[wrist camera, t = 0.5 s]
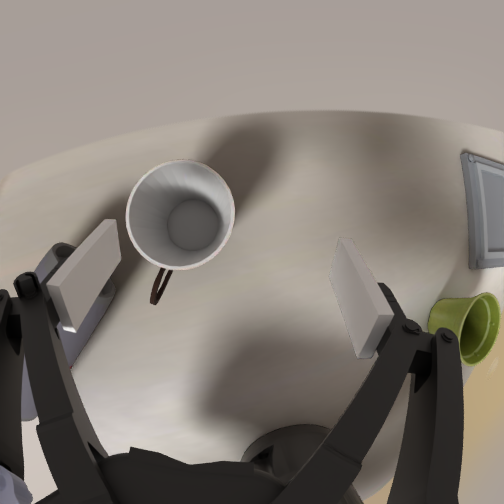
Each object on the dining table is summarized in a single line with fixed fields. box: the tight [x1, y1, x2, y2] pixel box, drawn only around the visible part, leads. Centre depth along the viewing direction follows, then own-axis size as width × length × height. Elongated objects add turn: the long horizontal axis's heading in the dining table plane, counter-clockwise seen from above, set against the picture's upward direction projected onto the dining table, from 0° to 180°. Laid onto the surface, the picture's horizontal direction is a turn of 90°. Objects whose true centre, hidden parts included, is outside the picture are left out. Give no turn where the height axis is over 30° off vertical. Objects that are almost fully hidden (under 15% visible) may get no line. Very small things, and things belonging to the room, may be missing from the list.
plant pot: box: [428, 292, 501, 366], centre depth 30 cm, size 9×9×9 cm
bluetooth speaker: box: [21, 243, 116, 421], centre depth 25 cm, size 23×9×10 cm, turn 140°
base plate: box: [460, 153, 504, 269], centre depth 35 cm, size 18×18×2 cm
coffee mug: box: [126, 159, 235, 305], centre depth 26 cm, size 12×9×10 cm
